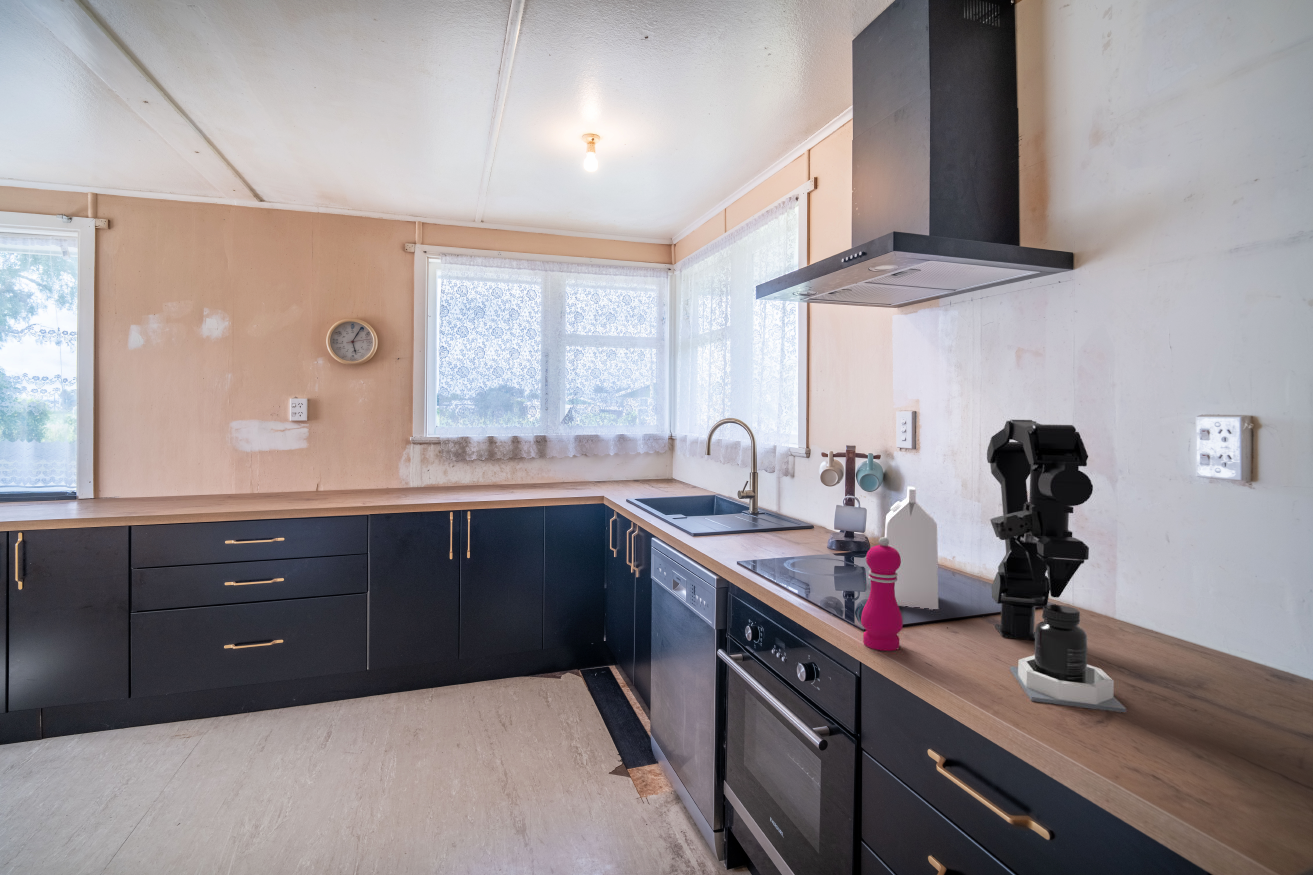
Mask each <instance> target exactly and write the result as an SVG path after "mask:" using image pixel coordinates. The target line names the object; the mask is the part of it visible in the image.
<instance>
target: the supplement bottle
mask: <svg viewBox="0 0 1313 875" xmlns="http://www.w3.org/2000/svg"><path fill="white" fill-rule="evenodd" d="M1080 613H1081V612H1080V610H1079V609H1077V608H1075V607H1072V606H1067V605H1062V604H1061V605H1060V604H1047V605H1045V606H1043V607H1042V616H1041V617H1042V619H1043V621H1041V622H1039V623H1037V625H1036V626H1035V627H1034V631H1035V640H1034V655H1035V671H1036V672H1038V673H1041V674H1044V675H1047V676H1049V677H1052V678H1055V679H1058V680H1060V681H1069V682H1077V683H1085V684H1087V665H1088V635H1087V633H1086V631H1085V629H1083V628H1082V627H1080V626H1079V625H1080V623H1081V616H1080V615H1081V614H1080Z"/></svg>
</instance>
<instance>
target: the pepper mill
mask: <svg viewBox="0 0 1313 875" xmlns="http://www.w3.org/2000/svg"><path fill="white" fill-rule="evenodd" d="M888 544H889V540H888V539H887V538H886V537H885V536H881V537H880V538H879V539H878V545H873V546H872V547H870V548H869V550H868V551H867V552H866V558H865V562H866V565H867V566H868V567H869V570H868V576H867V577H868V580H870V590H869V594H868V595H869V596H868V598H867V600H866V603H865V605H864V606H863V609H862V611H861V617H860V623H861V626H862V627H863V628H864V629H865V631H864V632H863V634H862V635H863V639H862V641H863V642H862V643H863V644H864V645H865V646H866V647H867V648H869V649H873V650H876V651H883V652H891V651H895V650H898V649H900V637H899V636H898V634H899V633H900V632H901V631H902V629H903V627H904V626H903V624H904V622H903V615H902V612H901V609H900V606H898V604H897V602H896V598H895V590H894V587H895V582H896V581H897V575H898V574H897V573H896V570H897V569H898V568H899V567H900V564H901V557H900V554H899V553H898V551H897V550H896V549H894V548H893V547H890V546H887V545H888Z"/></svg>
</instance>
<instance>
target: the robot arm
mask: <svg viewBox="0 0 1313 875" xmlns="http://www.w3.org/2000/svg"><path fill="white" fill-rule="evenodd" d="M986 450H987V451H986V461H987V463H988V464H989V465H990V473H991V475H992V476H993V477H994V478H995V480H996V481H997V482H998V484H1000V490H1001V502H1002V503H1001V506H1002V515H1000V516H996V517H993V518H990V519H989V521H990V523H991V525H992V526H991V527H992V529H993V531H994V534H995V537H996V538H998V539H999V540H1001V541H1005V555H1004V557H1003V558H1002V560H1001V561H1000V562H999V564H998V566H997V572H996V574H995V576H994V579H993V582H992V585H991V588H990V589H991V598H992V599H993V601H994V602H996V604H998V605H1000V604H1001V607H1000V608H1001V609H1000V624H999V623H996V624H994V627H995V629H996V630H997V631H998V632H999V634H1000V635H1001V636H1002V637H1003V638H1011V639H1020V640H1021V639H1022V640H1029V641H1030V640H1033V641H1035V627H1036V626H1035V624H1036V620H1035V619H1036V607H1037V608H1043V606H1045V605H1048V602H1049V597H1050V596H1051V597H1052V598H1060V597H1061V595H1062V593H1063V592H1064V590H1065V589H1066V587H1067V586H1068V584H1069V582H1070V581H1071V580H1072V578H1073V576H1074V574H1076V572H1077V571H1078V570H1079V568H1080V567H1081V565H1083V564H1085V561H1087V560H1089V558H1090V557H1089V552H1090V550H1089V549H1090V548H1089V546H1088V545H1087V544H1086V543H1085V542H1084V541H1082V540H1080V539H1078V538H1076V537H1073V531H1071V530H1069V519H1070V514H1074V507H1075V506H1080V505H1082V504H1084V503H1086V502H1087V501H1088V500H1089V499H1090V498H1091V496H1092V494H1093V491H1094V485H1093V483H1092V480H1091V479H1090V477H1089V476H1088V475H1087V474H1086V473H1084V472H1083V471H1081V470H1079V469H1080V467H1087V466H1088V463H1087V461H1088V459H1089V455H1088V451H1087V450H1086V447H1085V444H1084V442H1083V439H1082V437H1081V434H1080V432H1079V431H1077V429H1076V427H1075V426H1074V425H1073V424H1042V423H1039V422H1037V421H1033V420H1032V419H1010V420H1006V421H1005V424H1004V426H1003V428H1002V429H1000V430H999V431H997V433H995V434H994V435H992V436H991V437H990V441H989V443H988V447H987V449H986ZM1028 478H1029V497H1028V488H1027V479H1028ZM1046 573H1047V575H1046Z"/></svg>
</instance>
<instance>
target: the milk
mask: <svg viewBox="0 0 1313 875" xmlns="http://www.w3.org/2000/svg"><path fill="white" fill-rule="evenodd" d="M916 490H917V489H916V488H915V487H914V486H907V490H906V491H907V492H906V498H905V499H903V500H902V501H900V500H898V501H896V502H895V503H894V504H893V505H892V506H891V507H890V511H889V512H887V514H886V515H885V525H884V526H885V527H884V537H886V538H887V539H888V540H889V544H888V545H887V546H890V547H893V548H894V549H896V550H897V551H898V553H899V554H900V557H901V564H900V567H899V568H898V569H897V570H896V573H897V574H898V575H897V581H896V582H895V587H894V590H895V598H896V602H897V604H898V607H905V606H908V607H907V608H914V607H920V608H919V609H924V608H929V609H928V610H933V609H938V610H939V576H938V575H939V572H938V571H939V566H938V562H939V561H938V560H939V558H938V557H939V556H938V524H937V521H935V519H934V517H932V516H931V515H930V513H928V512H927V511H926V509H925V508H923V506H922V505H921V504H919V503H918V502H917V500H916V499H917V498H916V496H917V492H916Z"/></svg>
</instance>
